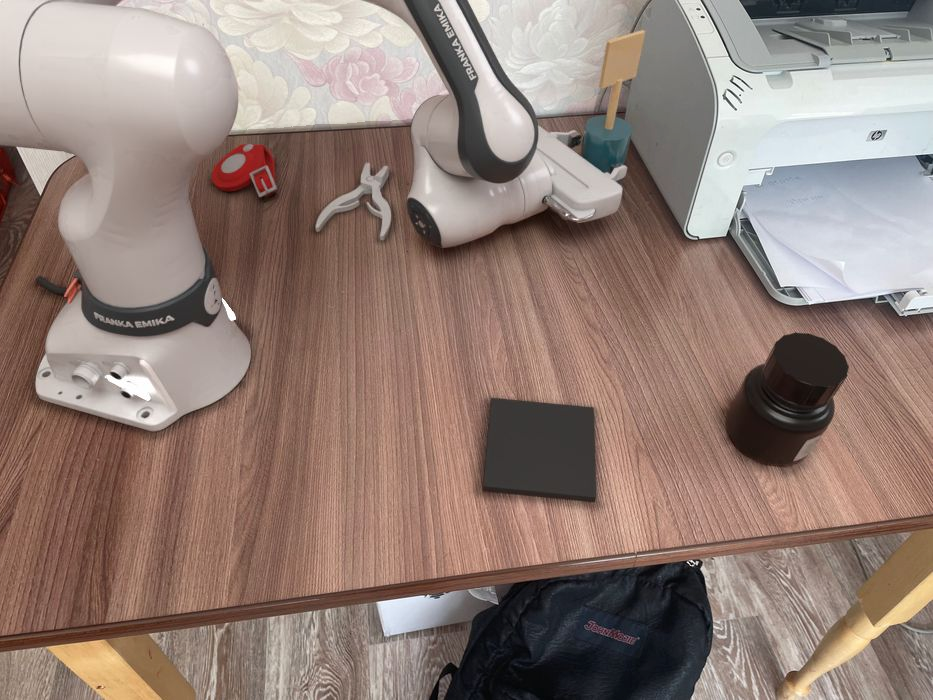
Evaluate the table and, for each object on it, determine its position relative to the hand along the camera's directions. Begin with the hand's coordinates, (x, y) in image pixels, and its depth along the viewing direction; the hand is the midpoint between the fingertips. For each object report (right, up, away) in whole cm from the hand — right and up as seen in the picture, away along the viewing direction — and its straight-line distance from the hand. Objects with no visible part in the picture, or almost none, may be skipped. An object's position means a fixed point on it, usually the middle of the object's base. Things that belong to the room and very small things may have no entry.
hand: (600, 152), depth 99 cm
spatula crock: (0, -4, +5) cm, 6 cm away
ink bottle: (+13, -37, -24) cm, 46 cm away
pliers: (-33, -7, +1) cm, 34 cm away
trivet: (-11, -38, -26) cm, 48 cm away
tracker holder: (-50, -4, +3) cm, 51 cm away
